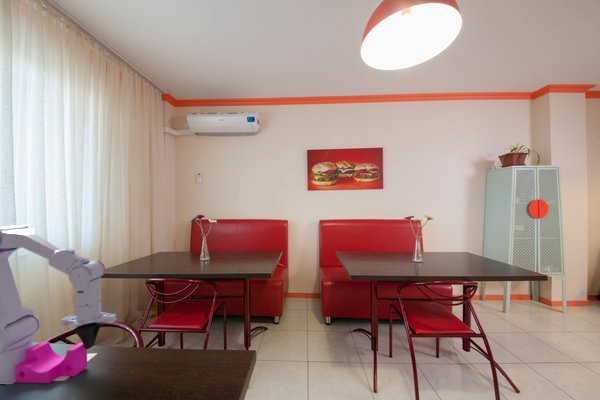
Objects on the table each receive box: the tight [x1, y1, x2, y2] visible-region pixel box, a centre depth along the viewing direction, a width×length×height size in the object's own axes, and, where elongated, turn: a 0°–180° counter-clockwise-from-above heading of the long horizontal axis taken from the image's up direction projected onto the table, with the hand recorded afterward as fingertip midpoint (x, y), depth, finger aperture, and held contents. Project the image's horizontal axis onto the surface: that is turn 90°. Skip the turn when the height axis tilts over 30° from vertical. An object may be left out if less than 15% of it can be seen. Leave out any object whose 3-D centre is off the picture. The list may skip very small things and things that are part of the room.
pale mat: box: [52, 352, 99, 382], centre depth 69 cm, size 8×11×1 cm
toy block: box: [15, 341, 88, 384], centre depth 66 cm, size 15×6×8 cm, turn 86°
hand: (89, 346), depth 69 cm, fingers closed
